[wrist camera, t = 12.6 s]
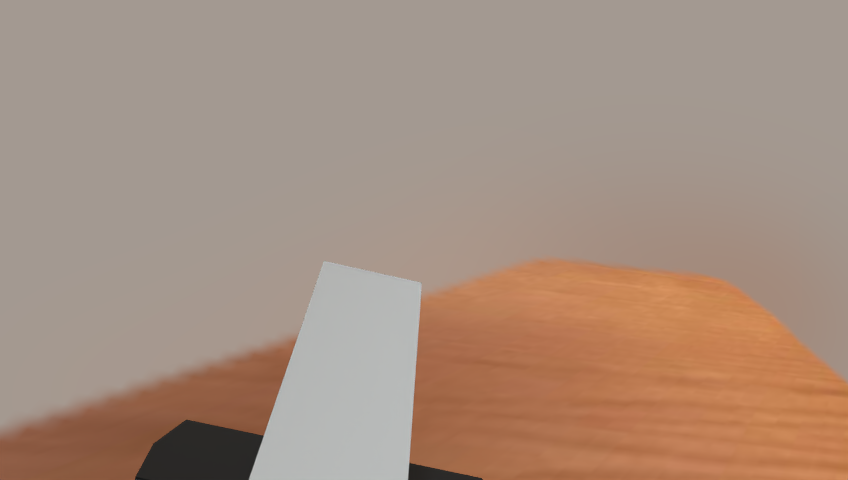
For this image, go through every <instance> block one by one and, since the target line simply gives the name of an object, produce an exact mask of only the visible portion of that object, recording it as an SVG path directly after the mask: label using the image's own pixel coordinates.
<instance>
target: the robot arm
mask: <svg viewBox="0 0 848 480" xmlns="http://www.w3.org/2000/svg"><path fill="white" fill-rule="evenodd" d="M421 286H422V283H421V282H416V281H412V280H408V279H403V278H398V277H394V276H390V275H385V274H380V273H376V272H371V271H367V270H362V269H358V268H354V267H349V266H345V265H340V264H336V263H331V262H326V261H324V263H323V265H322V268H321V271H320V274H319V277H318V280H317V283H316V286H315V289H314V291H313V294H312V297H311V300H310V303H309V306H308V309H307V312H306V315H305V318H304V321H303V323H302V326H301V329H300V332H299V335H298V338H297V341H296V344H295V347H294V350H293V353H292V355H291V358H290V361H289V364H288V367H287V370H286V373H285V376H284V379H283V382H282V385H281V387H280V390H279V393H278V396H277V399H276V402H275V405H274V408H273V411H272V414H271V417H270V419H269V422H268V425H267V428H266V431H265V434H264V436H262V435H257V434H253V433H248V432H243V431H238V430H233V429H229V428H224V427H219V426H214V425H209V424H205V423H200V422H195V421H190V420H185V421H184V422H182V423H181V424H180V425H178V426H177V427H176V428H174V429H173V430H172V431H170V432H169V433H168V434H166V435H165V436H163V437H162V438H161V439H159V440H158V441H157V442H155V443H154V444H153V446H152V447H151V449H150V451H149V453H148V455H147V457H146V459H145V460H144V462H143V464H142V466H141V468H140V470H139V472H138V473H137V475H136V477H135V480H483V479H482V478H478V477H473V476H469V475H464V474H459V473H454V472H449V471H445V470H440V469H435V468H430V467H425V466H421V465H416V464H411V463H409V459H410V444H411V430H412V416H413V401H414V387H415V373H416V359H417V344H418V330H419V316H420V301H421Z"/></svg>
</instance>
